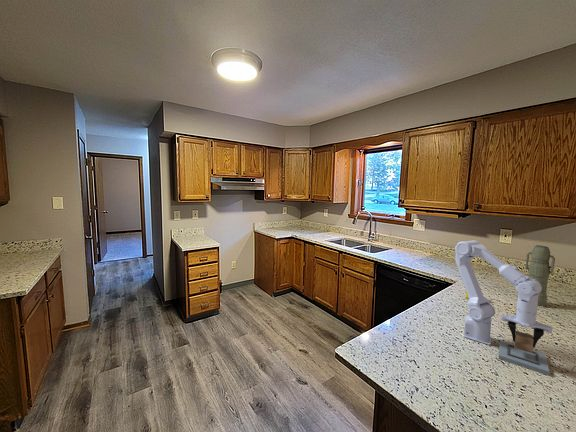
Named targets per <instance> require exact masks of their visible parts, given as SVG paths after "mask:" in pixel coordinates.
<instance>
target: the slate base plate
mask: <svg viewBox="0 0 576 432" xmlns="http://www.w3.org/2000/svg"><path fill="white" fill-rule="evenodd" d="M498 360H501V361H504V362H507V363H510V364H513V365H516V366H519V367H522V368H524V369H527V370H531V371H534V372H537V373H540V374H542V375H546V376H548V377H549V376H550V368H549V364H548V363H549V362H548V360H547V354H546V353H544V352H541V351H538V350H534V349H533V351H532V353H530V352H527V351H523V350H520V349H517V348H515V343H514V344H513V343H511V342H507V341H505V340H501V339H500V340H499V348H498Z"/></svg>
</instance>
